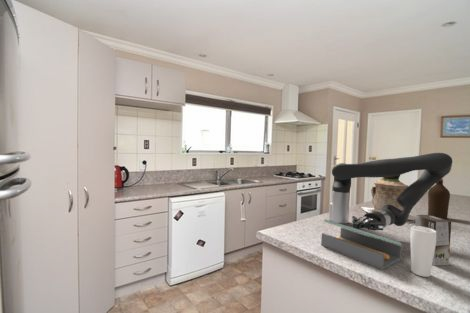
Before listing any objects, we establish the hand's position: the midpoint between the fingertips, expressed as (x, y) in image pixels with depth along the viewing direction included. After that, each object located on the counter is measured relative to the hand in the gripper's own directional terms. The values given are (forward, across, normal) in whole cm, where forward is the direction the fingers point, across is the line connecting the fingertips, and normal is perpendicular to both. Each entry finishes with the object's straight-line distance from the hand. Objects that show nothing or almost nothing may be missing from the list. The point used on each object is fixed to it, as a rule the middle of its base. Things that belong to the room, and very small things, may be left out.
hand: (355, 226), depth 92 cm
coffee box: (-22, +18, +12) cm, 30 cm away
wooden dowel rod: (-4, 0, +10) cm, 11 cm away
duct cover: (-5, 0, +4) cm, 6 cm away
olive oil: (-103, -2, +11) cm, 103 cm away
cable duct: (-4, 0, +11) cm, 12 cm away
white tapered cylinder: (-6, +20, +12) cm, 23 cm away
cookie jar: (-79, -21, +11) cm, 83 cm away
